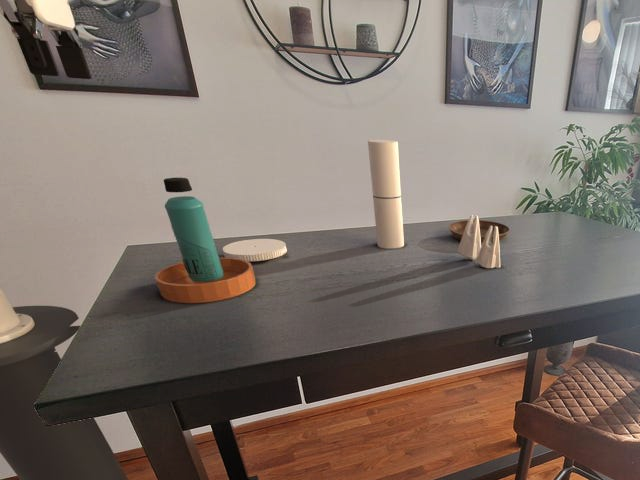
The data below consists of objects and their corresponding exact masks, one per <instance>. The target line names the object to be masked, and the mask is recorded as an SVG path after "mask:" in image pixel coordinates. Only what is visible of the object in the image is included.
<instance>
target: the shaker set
mask: <svg viewBox="0 0 640 480" xmlns="http://www.w3.org/2000/svg"><path fill="white" fill-rule="evenodd" d="M467 220H468V223H467V225H466V228H465V231H464V233H463V236H462V239H461V241H460V242H459V244H458V248H457V253H458V254H459V255H461V256H463V257H465V258H467V259H469V260H472V261H475V262H474V263H476V264H478V265H480V267H483V268H485V269H494V268H496V269H500V268H501V251H500V249H501V248H500V241H499V234H498V227H497V226H495V229H494V236H493V243H491V238H492V226H490V228H489V229H488V232H487V234H486V236H485V239H484V241H483V243H482V244H481V238H480V227H479V220H480V219H479V216H478V214H475V215H473V214H470V216H469V218H468V219H467ZM473 220H475V222H474V224H473Z"/></svg>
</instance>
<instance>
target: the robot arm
mask: <svg viewBox="0 0 640 480" xmlns="http://www.w3.org/2000/svg"><path fill="white" fill-rule="evenodd" d="M0 14H1V15H2V17H4V19H5V20H6V22H7V23H8V24H9V25H10V30H11V32H12V34H13V36H14V37H15V38H16V40H17V43H18V45H19V48H20V50H21V53H22V55H23V58H24V60H25V62H26V65H27V68H28V70H29V72H30V73H31V74H32V75H35V76H48V77H59V76H60V71H59V69H58V65H57V62H56V61H55V60H56V59H55V58H54V55H53V52H52V49H51V46H50V44H49V41H48V40H44V38H43V37H44V33H43V32H44V26H45V27H46V28H47V29H48V31H49V33H50V34H51V35H52V37H53V39H54V40H55V42H56V44H57V45H55V48H56V51H57V53H58V57H59V59H60V62H61V64H62V65H61V66H62V67H63V70H64V73H65V75H66V77H67V78H69V79H80V80H92V77H93V76H92V73H91V70H90V67H89V65H88V64H89V63H88V62H87V59H86V56H85V52H84V50H83V43H82V41H81V40H80V38H79V35H80V33H79V30H78V29H77V26H76V19H75V15H74V14H73V12H72V9H71V6H70V3H69V0H0ZM12 307H13V306H12V305H11V302H10V301H9V298H8V297H7V295H6V294H5V292H4V291H3V288H2V287H1V286H0V344H1V343H5V342H8V341H10V340H13V339H16V338H18V337H20V336H22V335H24V334H26V333H28V332H29V331H30V330H31V329H32V328H33V327H34V325H35V323H34V321H33V319H32V318H31V317H30V316H28V315H25V314H17V313H15V311H14V310H13V308H12Z"/></svg>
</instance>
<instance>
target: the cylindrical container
mask: <svg viewBox="0 0 640 480" xmlns="http://www.w3.org/2000/svg"><path fill="white" fill-rule="evenodd" d="M367 148H368V157H369V170H370V179H371V180H370V181H371V189H372V199H373V201H372V202H373V211H374V222H375V232H376V234H375V235H376V242H377V243H376V244H377V247H378V248H381V249H385V250H386V249H387V250H393V249H400V248H403V247H404V246H405V239H404V238H405V237H404V223H403V221H404V220H403V206H402V205H403V204H402V190H401V189H402V188H401V177H400V176H401V172H400V158H399V157H400V156H399V155H400V154H399V142H398V140H393V139H370V140H367Z"/></svg>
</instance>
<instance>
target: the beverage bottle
mask: <svg viewBox="0 0 640 480" xmlns="http://www.w3.org/2000/svg"><path fill="white" fill-rule="evenodd" d="M163 184H164V189H165V192H167V193H187V192H192V191H193V188H192V186H191V184H190V181H189V179H188V178H187V177H168V178H164V179H163ZM164 208H165V210H166V213H167V216H168V219H169V222H170V224H169V225H170V226H171V229H172V232H173V237H174V239H175V240H176V243H177V245H178V248H179V249H178V250H179V252H180V255H181V256H180V257H181V260H182V262H184V263H185V264H184V266H185V269H186V270H187V273H188V275H189V278H190V279H191V280H192V281H195V282H209V281H214V280H217V279H220V278H222V277H223V273H224V272H223V269H222V267H223V266H221V264H222V263H220V262H221V261H220V259H219V258H221V256H220V255H219V252H218V249H217V245H216V241H215V239H214V237H213V234H212V230H211V228H210V224H209V221H208V217H207V214H206V211H205V208H204V203H203V202H202V201H201V200H199V198H196V196H195V197H194V196H190V195H189V196H187V195H185V196H174V197H170V198H168V199H167V201H166V202H165V204H164Z"/></svg>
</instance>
